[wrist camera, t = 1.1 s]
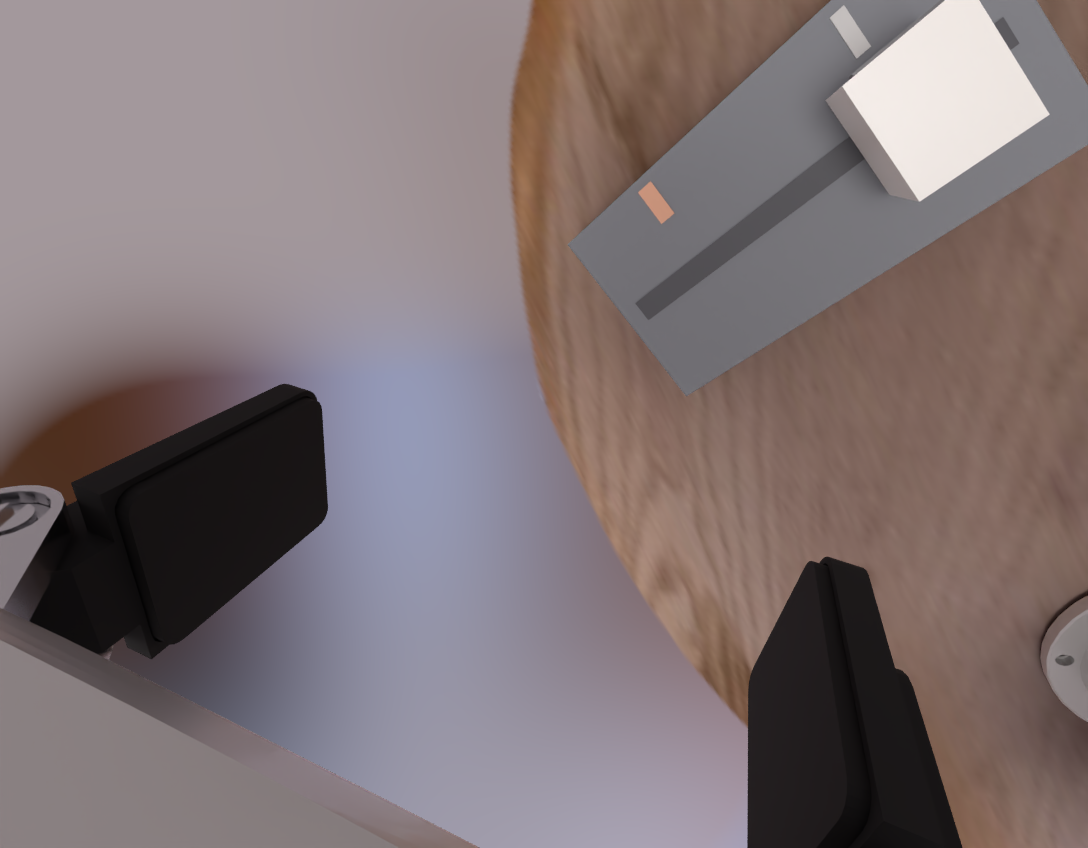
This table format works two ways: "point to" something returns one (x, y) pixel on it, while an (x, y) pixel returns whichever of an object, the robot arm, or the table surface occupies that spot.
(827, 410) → the table surface
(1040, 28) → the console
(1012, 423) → the table surface
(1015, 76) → the cap
